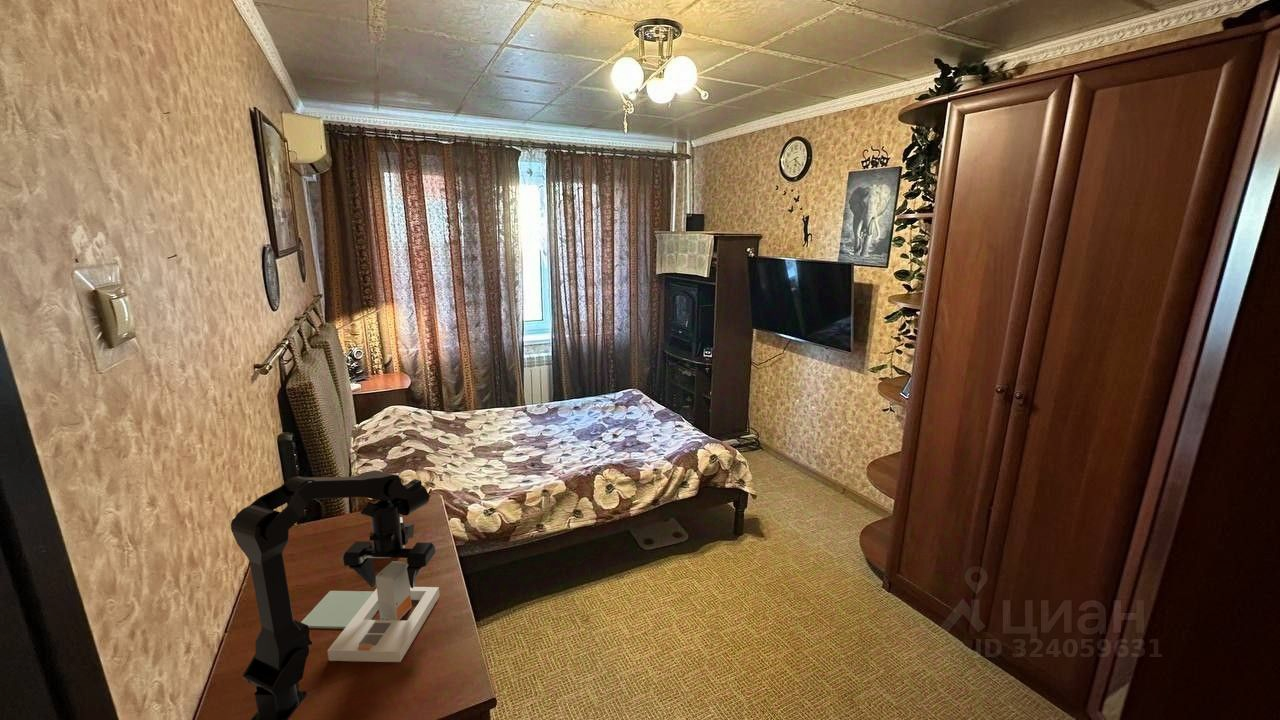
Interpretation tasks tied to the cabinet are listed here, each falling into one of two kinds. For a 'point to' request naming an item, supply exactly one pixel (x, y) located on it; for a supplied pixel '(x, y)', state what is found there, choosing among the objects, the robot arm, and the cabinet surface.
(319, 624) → the mat
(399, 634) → the cream rectangular frame
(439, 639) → the cabinet surface
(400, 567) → the skincare box
